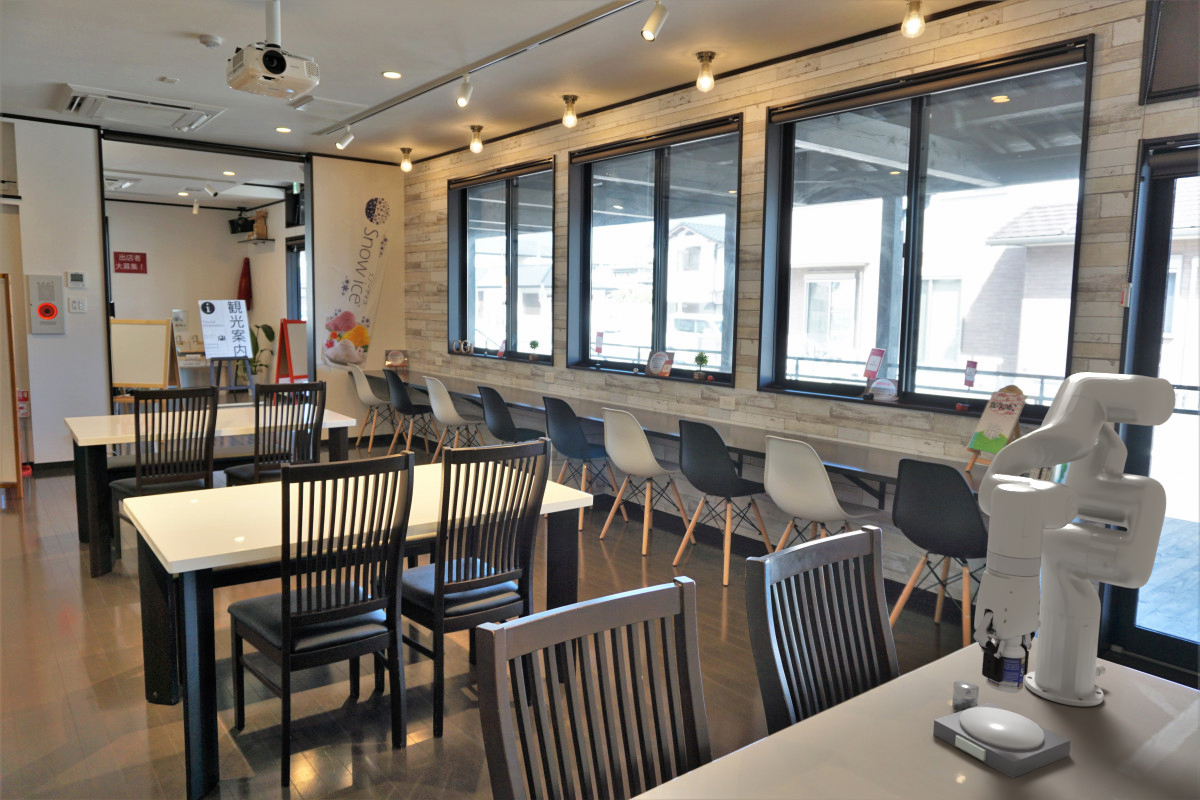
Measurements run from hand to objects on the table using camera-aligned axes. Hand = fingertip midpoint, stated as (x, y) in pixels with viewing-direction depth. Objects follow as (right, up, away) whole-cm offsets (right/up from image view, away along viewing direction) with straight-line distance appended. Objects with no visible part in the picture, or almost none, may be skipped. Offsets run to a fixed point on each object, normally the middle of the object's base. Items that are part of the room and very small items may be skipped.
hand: (1004, 674), depth 126 cm
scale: (0, -12, +1) cm, 12 cm away
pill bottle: (0, -2, 0) cm, 2 cm away
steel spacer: (0, -11, +14) cm, 17 cm away
